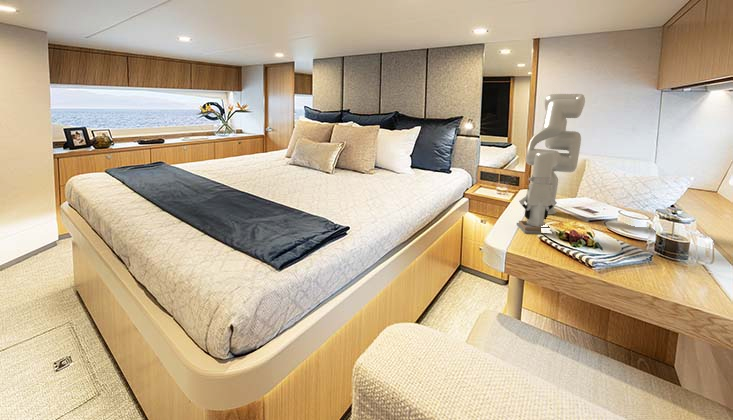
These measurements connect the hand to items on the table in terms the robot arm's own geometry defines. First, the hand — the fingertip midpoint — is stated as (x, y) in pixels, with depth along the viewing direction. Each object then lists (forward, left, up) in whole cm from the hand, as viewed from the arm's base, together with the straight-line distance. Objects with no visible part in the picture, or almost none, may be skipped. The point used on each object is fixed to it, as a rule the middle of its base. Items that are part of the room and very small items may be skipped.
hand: (535, 218), depth 166 cm
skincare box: (0, 0, -4) cm, 4 cm away
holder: (0, 0, -5) cm, 5 cm away
